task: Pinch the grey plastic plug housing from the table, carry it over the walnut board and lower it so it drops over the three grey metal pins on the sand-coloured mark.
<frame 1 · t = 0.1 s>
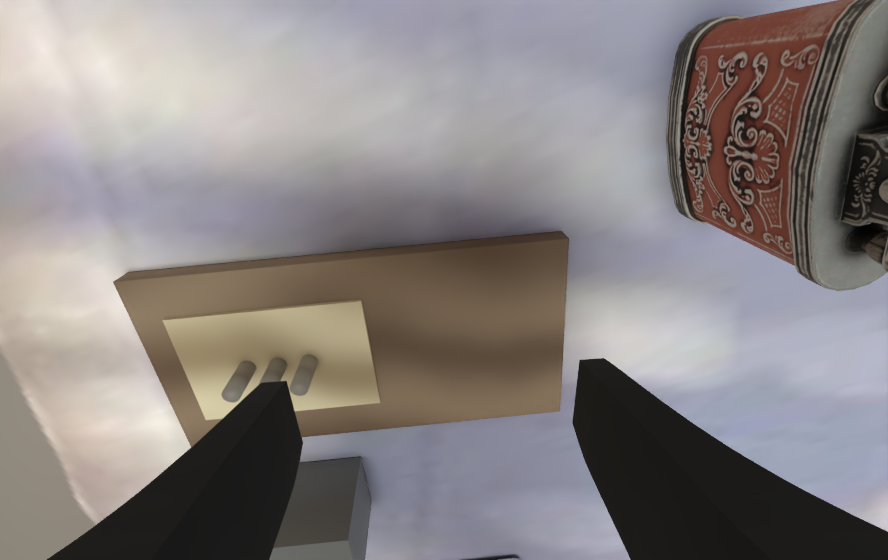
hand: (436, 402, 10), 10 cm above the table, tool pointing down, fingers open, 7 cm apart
pin board: (364, 342, 21), on the table
plug housing: (309, 485, 26), on the table
lighter: (703, 127, 18), on the table
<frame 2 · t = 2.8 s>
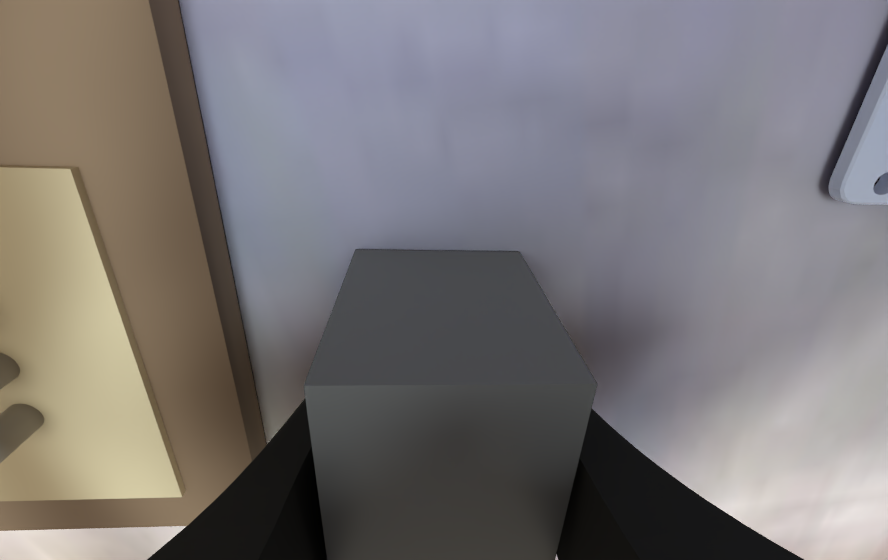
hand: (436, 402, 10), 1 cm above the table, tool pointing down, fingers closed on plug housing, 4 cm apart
plug housing: (434, 367, 12), on the table, touching gripper
when the fingers open (4 cm above the table, at t = 7.2 s): plug housing stays where it is, resting on pin board.
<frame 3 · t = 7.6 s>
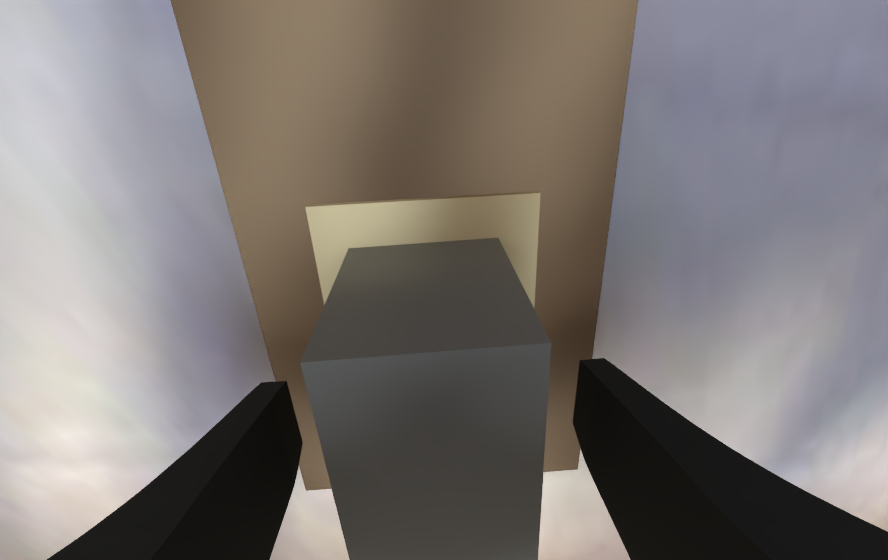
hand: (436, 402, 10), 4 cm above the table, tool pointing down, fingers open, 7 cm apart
pin board: (424, 206, 12), on the table
plug housing: (432, 351, 13), point 1 cm above the table, touching pin board
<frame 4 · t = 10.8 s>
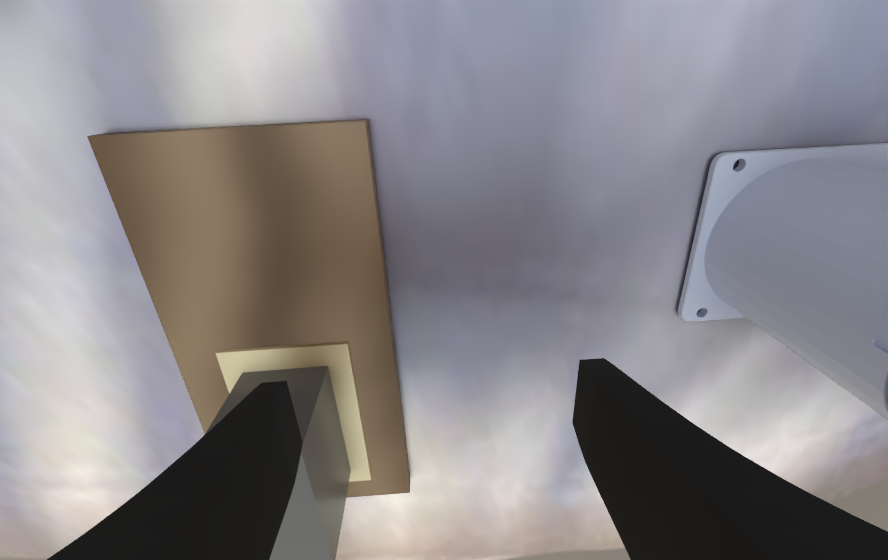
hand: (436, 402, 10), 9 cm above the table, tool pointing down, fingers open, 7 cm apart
pin board: (291, 342, 20), on the table
plug housing: (300, 425, 21), point 1 cm above the table, touching pin board
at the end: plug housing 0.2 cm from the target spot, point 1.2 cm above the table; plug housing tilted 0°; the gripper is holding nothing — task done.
